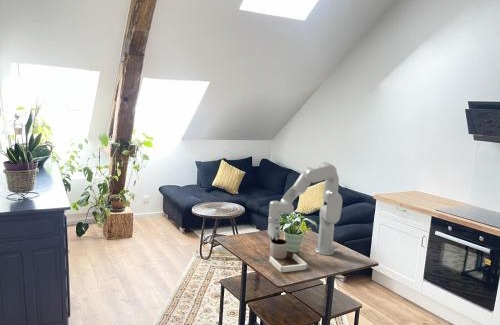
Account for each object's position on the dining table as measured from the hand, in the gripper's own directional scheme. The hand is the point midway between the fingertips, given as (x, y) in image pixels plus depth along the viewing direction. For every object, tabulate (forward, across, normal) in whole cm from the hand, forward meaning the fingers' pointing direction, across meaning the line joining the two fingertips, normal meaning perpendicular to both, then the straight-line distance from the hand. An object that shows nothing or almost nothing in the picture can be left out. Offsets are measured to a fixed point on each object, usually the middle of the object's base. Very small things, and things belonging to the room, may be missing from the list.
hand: (272, 247), depth 241 cm
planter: (+3, -9, 0) cm, 9 cm away
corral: (+3, -22, 0) cm, 22 cm away
